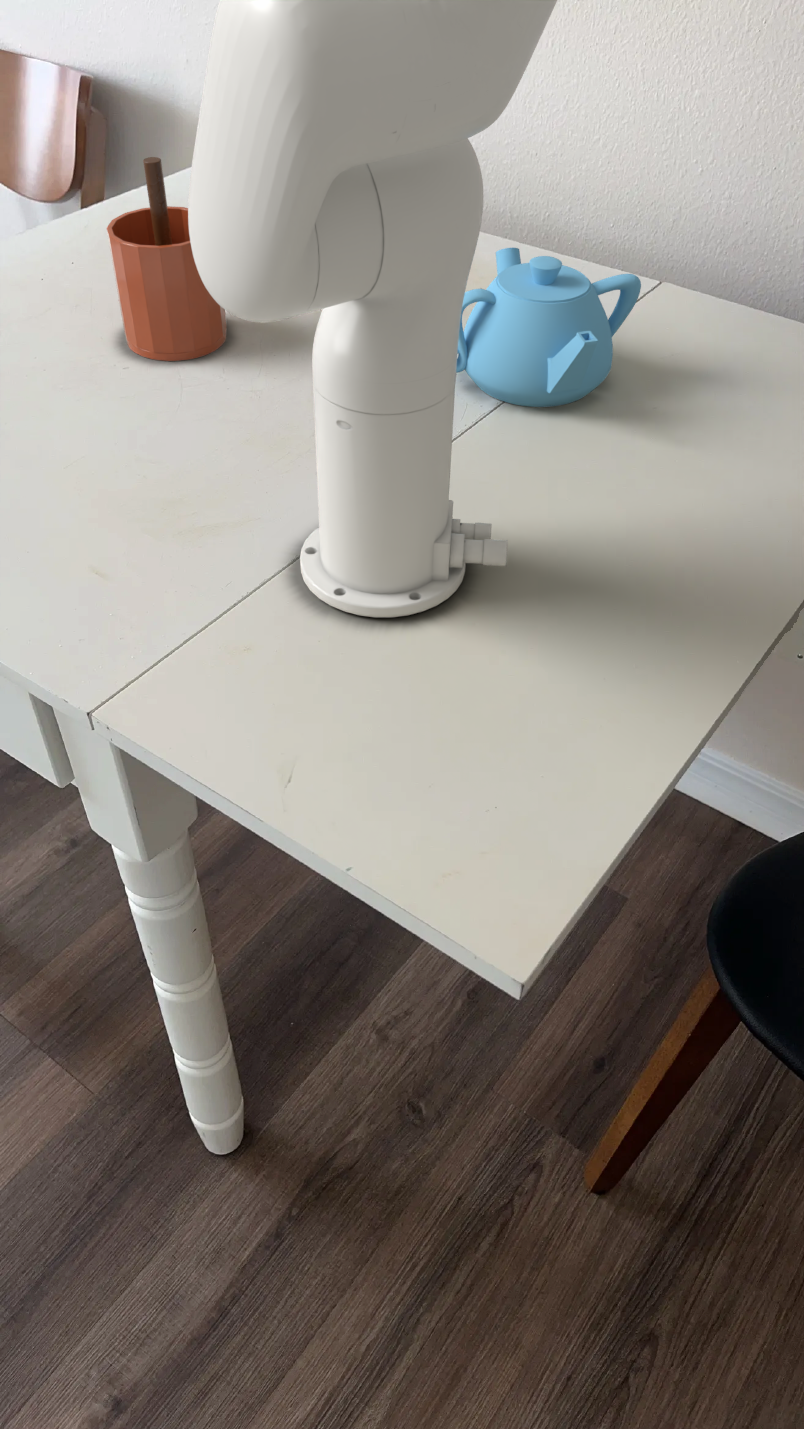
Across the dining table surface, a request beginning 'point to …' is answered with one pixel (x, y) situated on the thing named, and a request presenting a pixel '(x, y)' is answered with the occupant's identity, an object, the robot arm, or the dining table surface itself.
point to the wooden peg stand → (157, 201)
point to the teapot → (541, 331)
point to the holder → (162, 290)
